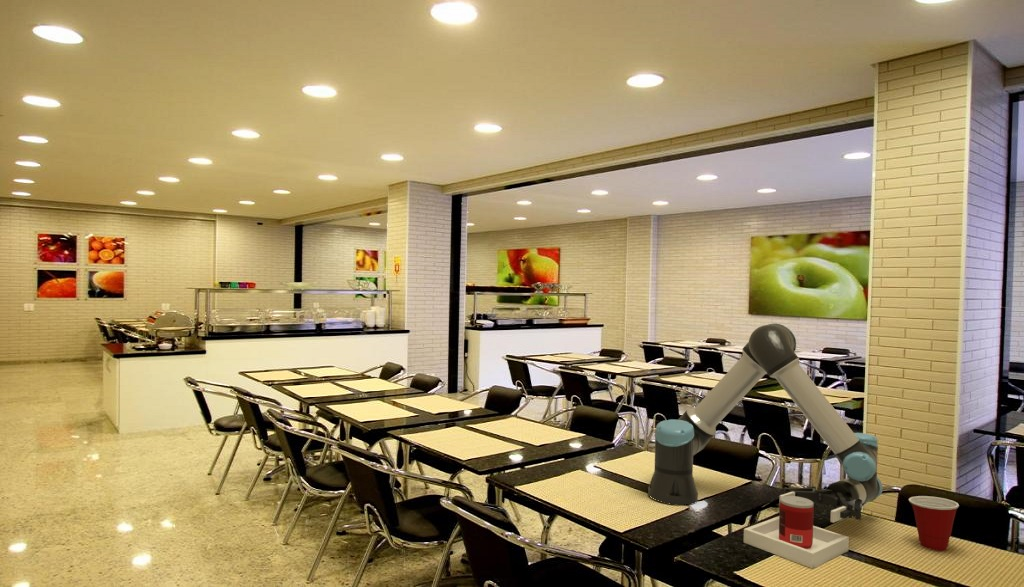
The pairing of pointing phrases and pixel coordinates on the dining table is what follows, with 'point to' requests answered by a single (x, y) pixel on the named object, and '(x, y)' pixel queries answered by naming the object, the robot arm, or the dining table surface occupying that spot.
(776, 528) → the tray
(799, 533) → the canned food
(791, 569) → the dining table surface
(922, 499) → the plastic cup
